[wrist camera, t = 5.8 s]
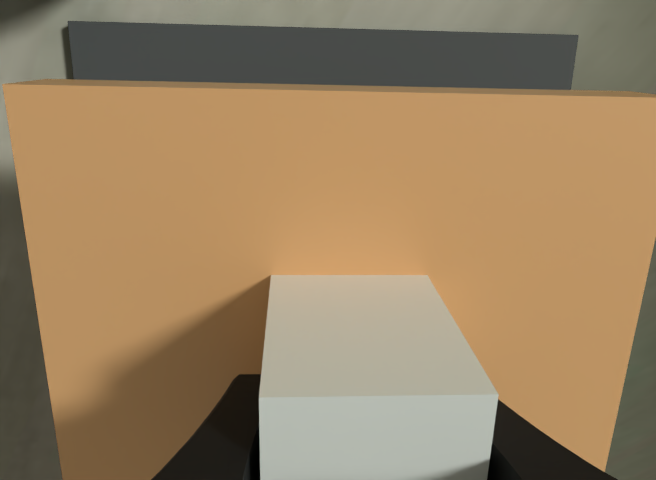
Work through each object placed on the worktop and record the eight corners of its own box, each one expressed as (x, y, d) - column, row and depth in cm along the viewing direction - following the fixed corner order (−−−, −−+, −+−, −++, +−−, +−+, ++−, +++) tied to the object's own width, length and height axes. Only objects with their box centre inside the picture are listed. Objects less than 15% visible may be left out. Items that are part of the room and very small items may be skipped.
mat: (117, 456, 21) (114, 464, 20) (72, 21, 17) (67, 21, 16) (514, 448, 22) (518, 455, 21) (572, 35, 17) (578, 35, 17)
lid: (107, 547, 15) (-3, 840, 9) (47, 78, 11) (-196, 107, 6) (546, 534, 16) (685, 799, 10) (629, 91, 12) (920, 126, 6)
